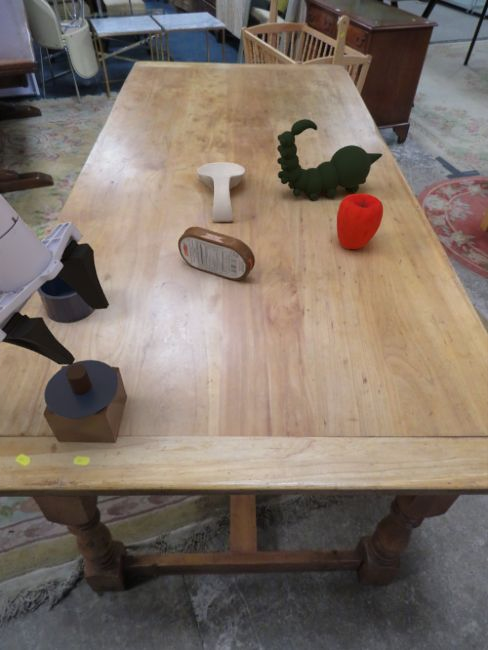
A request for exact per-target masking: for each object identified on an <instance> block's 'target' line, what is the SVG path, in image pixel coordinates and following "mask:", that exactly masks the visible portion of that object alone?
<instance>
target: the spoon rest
mask: <svg viewBox="0 0 488 650" xmlns="http://www.w3.org/2000/svg"><path fill="white" fill-rule="evenodd" d="M196 174H197V176H198V178H199V179H200V180H201V182H202V183H203V184H205V186H207V187H209V188H210V189H211V190H212V191H213V203H212V210H211V211H212V212H211V221H212V222H213V223H214V222H215V223H222V222H223V223H224V222H225V223H228V222H233V221H234V212H233V207H232V202H231V194H230V190H232V189H233V188H235V187H237V186H238V185H239V184H240V183H241V182H242V181H243V179H244V177H245V175H246V168H244V166H242V165H241V164H238V163H235V162H229V161H215V162H208V163H204V164H201V166H199V167H198V168H197V170H196ZM231 188H232V189H231ZM229 189H230V190H229Z"/></svg>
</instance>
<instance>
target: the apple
mask: <svg viewBox="0 0 488 650" xmlns="http://www.w3.org/2000/svg"><path fill="white" fill-rule="evenodd" d="M383 216H384V205H383V202H382V201H381V200H380V199H379V198H377V197H376V196H374V195H372V194H370V193H369V194H368V193H364V192H363V193H350V194H348V195H346V196H344V197H343V198H342V200H341V202H340V203H339V205H338V210H337V214H336V235H337V238H338V242H339V245H340V246H341V247H343V248H344V249H347V250H359V249H361V248H363V247H365V246H366V245H367V244H368V243H369V242H371V240H372V239H373V238H374V237H375V235H376V233H377V232H378V230H379V228H380V226H381V223H382V219H383Z"/></svg>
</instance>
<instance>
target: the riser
mask: <svg viewBox="0 0 488 650" xmlns="http://www.w3.org/2000/svg"><path fill="white" fill-rule="evenodd" d="M65 366H66V365H62V366H61V368H60V370H61V369H62V368H64V367H65ZM111 367H112V368H113V369H114V370H115V372H116V374H117V377H118V380H119V387H118V391H117V394H116V396H115V398H114V399H113V401H112V402H111V403H110V404H109V405H108V406H107V407H106V408H105V409H103V410H102V411H101V412H99V413H97V414H95V415H93V416H90V417H87V418H83V419H73V420H72V419H65V418H61V417H59V416H57V415H55V414H54V413H52V412H51V411H50V410H49V408H48V407H47V405H45V408H44V410H43V413H42V415H43V416H44V419H45V420H46V422H47V424H48V426H49V428H50V429H51V432H52V433H53V435H54V438H55V439H56V441H57V442H58V443H59V442H61V443H62V442H63V443H105V444H106V443H107V444H108V443H109V444H110V443H111V444H113V443H114V444H115V443H117V438H118V434H119V430H120V426H121V421H122V417H123V414H124V409H125V405H126V401H127V397H128V395H127V391H126V388H125V385H124V381H123V378H122V377H123V376H122V373H121V370H120V367H119V366H111Z"/></svg>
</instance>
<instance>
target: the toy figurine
mask: <svg viewBox="0 0 488 650" xmlns="http://www.w3.org/2000/svg"><path fill="white" fill-rule="evenodd" d="M309 129H312V130H314V131H317V130H318V125H317V124H316V123H315V122H314V121H312V120H311V119H307V118H303V119H299V120H297V121H296V122H294V123H293V124H292V125H291V128H290V130H285V131H283V132H282V133H281V134H278V135H277V140H278V141H279V145H277V148H276V149H277V152H279V155H280V156H279V157H278V158H277V160H276V161H277V164H278V165H280V171H278V173H277V178H278V179H280V183H281V184H282V185H287V186H288V188H289V190H292V192H291V193H292V195H293V197H296V198H298V197H300V196H301V195H302V192H303V193H304V194H306V195H308V197H309V199H310V200H312V201H315V200H317V199H318V197H319V194H320V193H321V192H325V194H326V195H327V197H328V198H334V197H335V196H336V195H337V193H338V190H337V189H338V188H339V187H341V188H344V190H345V191H346V192H347V193H349V192H350V193H349V194H356V193H357V192H358V191H359V189H360V186H361V185H364V184H365V183H366V182H367V178H368V176H369V174H370V171H371V166H372V165H373V164H374V163H375V162H377V161H378V160H380V159H381V158H382V157H383V153H379V152H374V153H373V152H367V151H366V149H364V148H363V147H360V146H358V145H354V144H350V145H346V146H342V147H341V148H339V149H338V150H337V151H335V152H334V153H333V155H332V156H331V158H330V160H328V161H322V162H321V163H320V164H318V165H317V166H316V167H309V168H307V169H305V168H303V167H302V165H301V164H300V159H299V156H298V154H297V153H298V148H297V147H298V146H297V144H296V136H300V135H301V134H303V132H305V131H306V130H309Z"/></svg>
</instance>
